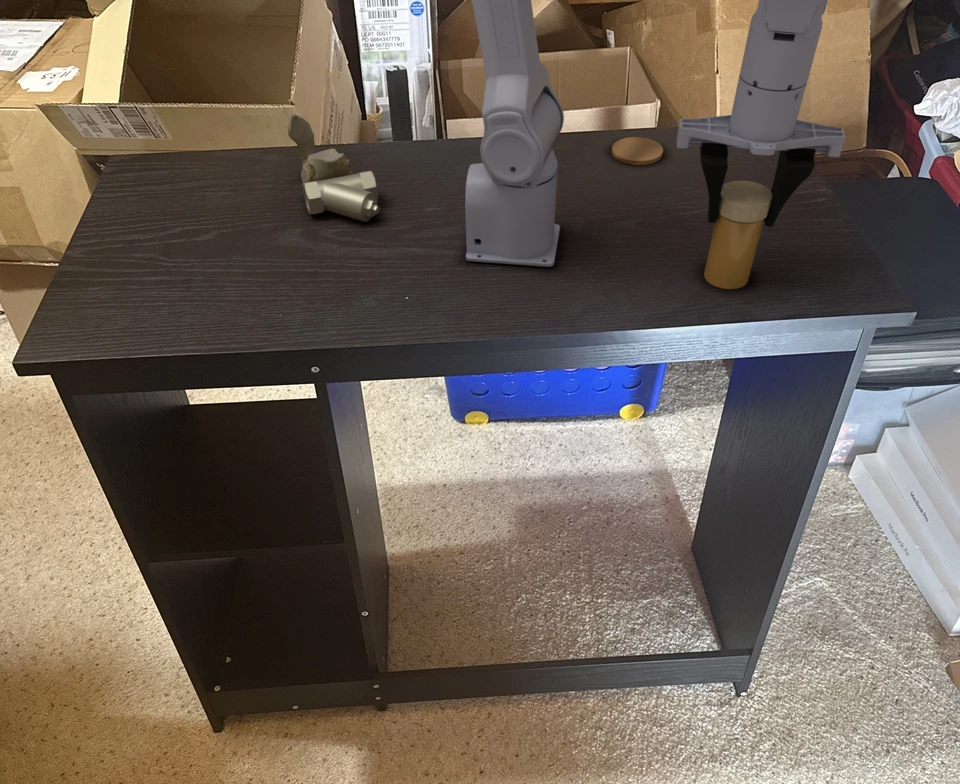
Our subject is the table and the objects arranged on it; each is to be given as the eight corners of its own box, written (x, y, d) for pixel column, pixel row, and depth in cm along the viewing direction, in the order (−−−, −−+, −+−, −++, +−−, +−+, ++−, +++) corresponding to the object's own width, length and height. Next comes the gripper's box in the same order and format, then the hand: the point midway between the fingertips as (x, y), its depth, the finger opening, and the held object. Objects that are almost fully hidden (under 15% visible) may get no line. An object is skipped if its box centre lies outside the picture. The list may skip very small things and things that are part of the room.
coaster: (610, 163, 103) (610, 159, 103) (612, 140, 108) (613, 135, 107) (662, 166, 103) (663, 162, 102) (662, 142, 107) (663, 138, 106)
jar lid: (716, 221, 80) (720, 205, 78) (714, 194, 83) (718, 178, 82) (770, 224, 79) (775, 208, 78) (766, 197, 83) (771, 181, 81)
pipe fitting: (387, 225, 95) (371, 192, 99) (384, 195, 92) (368, 163, 96) (318, 238, 94) (305, 205, 98) (313, 208, 91) (300, 175, 95)
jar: (704, 287, 86) (721, 208, 79) (703, 262, 89) (719, 184, 82) (749, 291, 85) (771, 212, 78) (747, 265, 88) (767, 187, 82)
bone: (360, 191, 97) (303, 118, 91) (317, 220, 99) (258, 151, 93) (362, 161, 103) (309, 90, 97) (321, 189, 105) (267, 122, 99)
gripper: (688, 92, 70) (664, 236, 80) (867, 101, 68) (820, 246, 78) (687, 59, 75) (665, 198, 85) (855, 66, 73) (812, 208, 83)
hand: (739, 219), depth 82 cm, fingers closed on jar lid, 5 cm apart
